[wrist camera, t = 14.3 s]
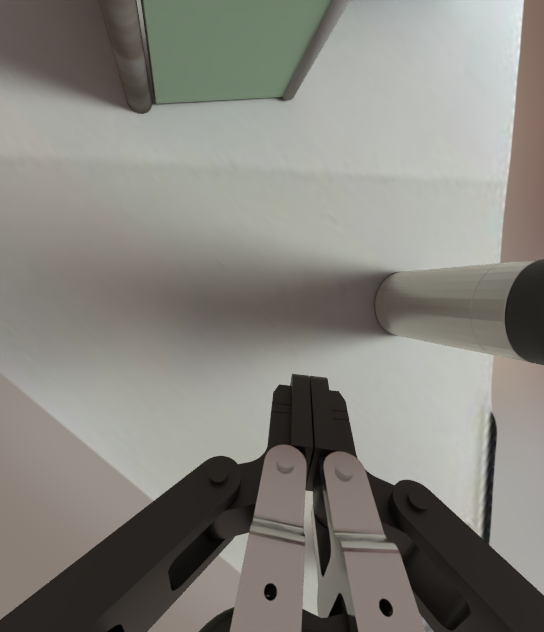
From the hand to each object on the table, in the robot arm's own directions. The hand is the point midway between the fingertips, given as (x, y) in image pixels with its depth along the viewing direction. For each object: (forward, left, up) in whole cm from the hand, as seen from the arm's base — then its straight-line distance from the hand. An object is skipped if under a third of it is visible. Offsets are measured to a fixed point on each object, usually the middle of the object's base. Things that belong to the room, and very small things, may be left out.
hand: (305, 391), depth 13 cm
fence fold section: (-8, -25, -23) cm, 35 cm away
